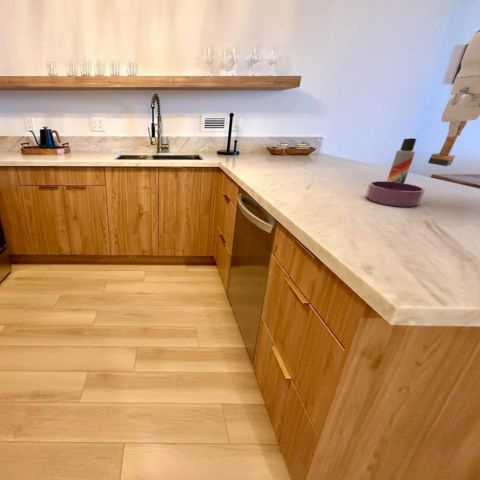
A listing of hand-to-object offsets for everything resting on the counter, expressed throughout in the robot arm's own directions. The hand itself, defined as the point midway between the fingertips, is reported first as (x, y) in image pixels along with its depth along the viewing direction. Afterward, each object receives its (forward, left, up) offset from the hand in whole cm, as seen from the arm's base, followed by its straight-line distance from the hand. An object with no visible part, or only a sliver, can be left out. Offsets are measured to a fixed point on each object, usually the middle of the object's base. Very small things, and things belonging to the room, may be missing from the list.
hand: (453, 136), depth 93 cm
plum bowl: (+7, +9, -22) cm, 25 cm away
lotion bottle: (+15, -12, -22) cm, 29 cm away
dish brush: (+1, 0, -9) cm, 9 cm away
